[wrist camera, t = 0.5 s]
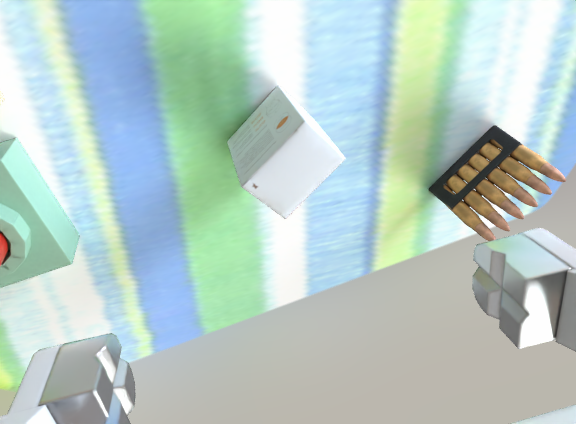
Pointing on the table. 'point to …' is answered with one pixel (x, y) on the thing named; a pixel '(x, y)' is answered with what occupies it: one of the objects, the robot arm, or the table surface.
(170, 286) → the table surface
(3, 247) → the button
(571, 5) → the table surface
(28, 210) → the green push button box
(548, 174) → the ammunition clip
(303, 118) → the small box
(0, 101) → the panel
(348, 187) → the table surface
